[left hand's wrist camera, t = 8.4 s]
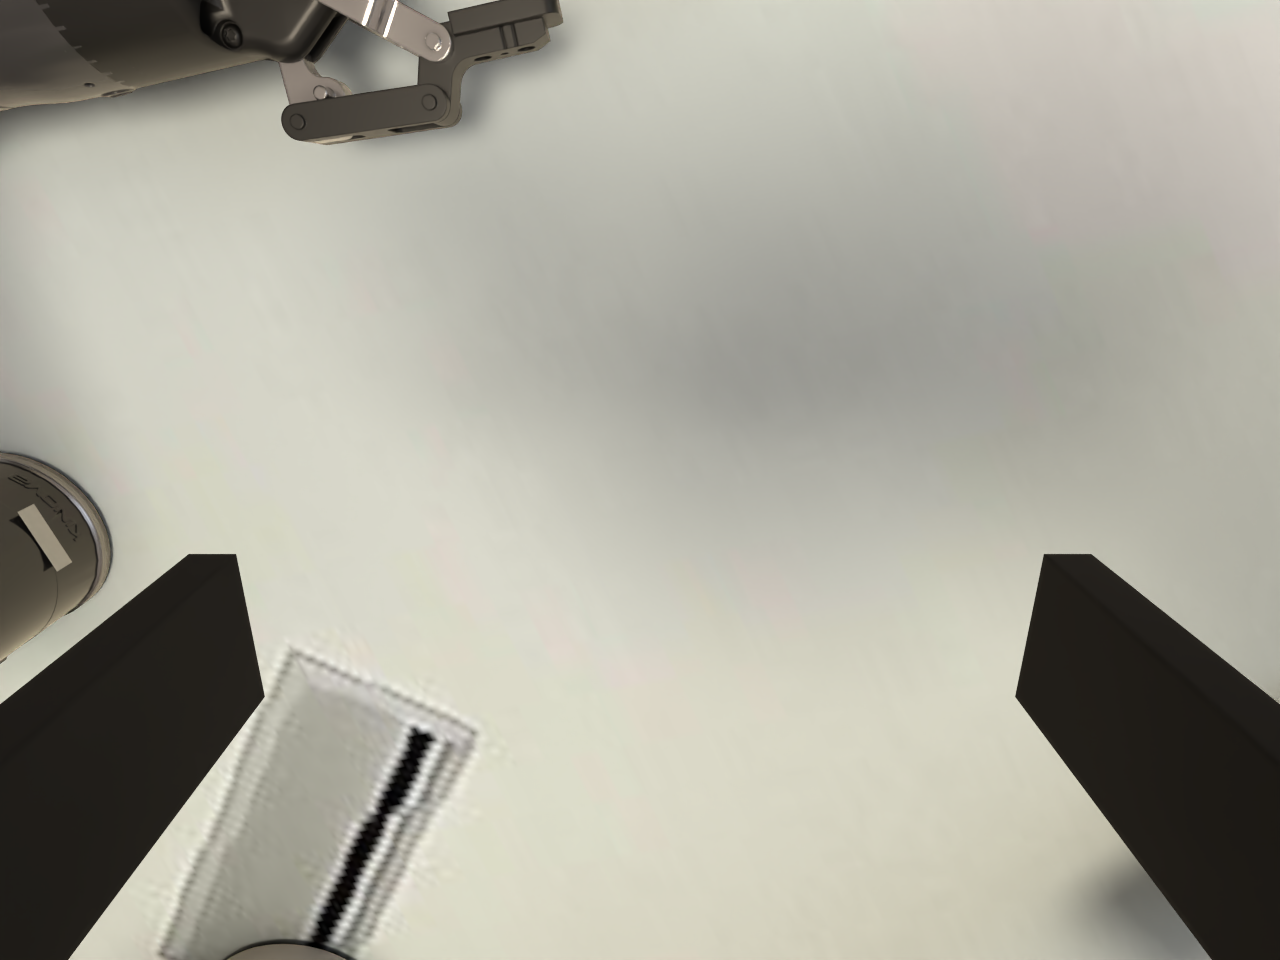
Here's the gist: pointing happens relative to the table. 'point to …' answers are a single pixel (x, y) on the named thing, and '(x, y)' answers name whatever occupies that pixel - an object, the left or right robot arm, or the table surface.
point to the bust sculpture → (285, 953)
